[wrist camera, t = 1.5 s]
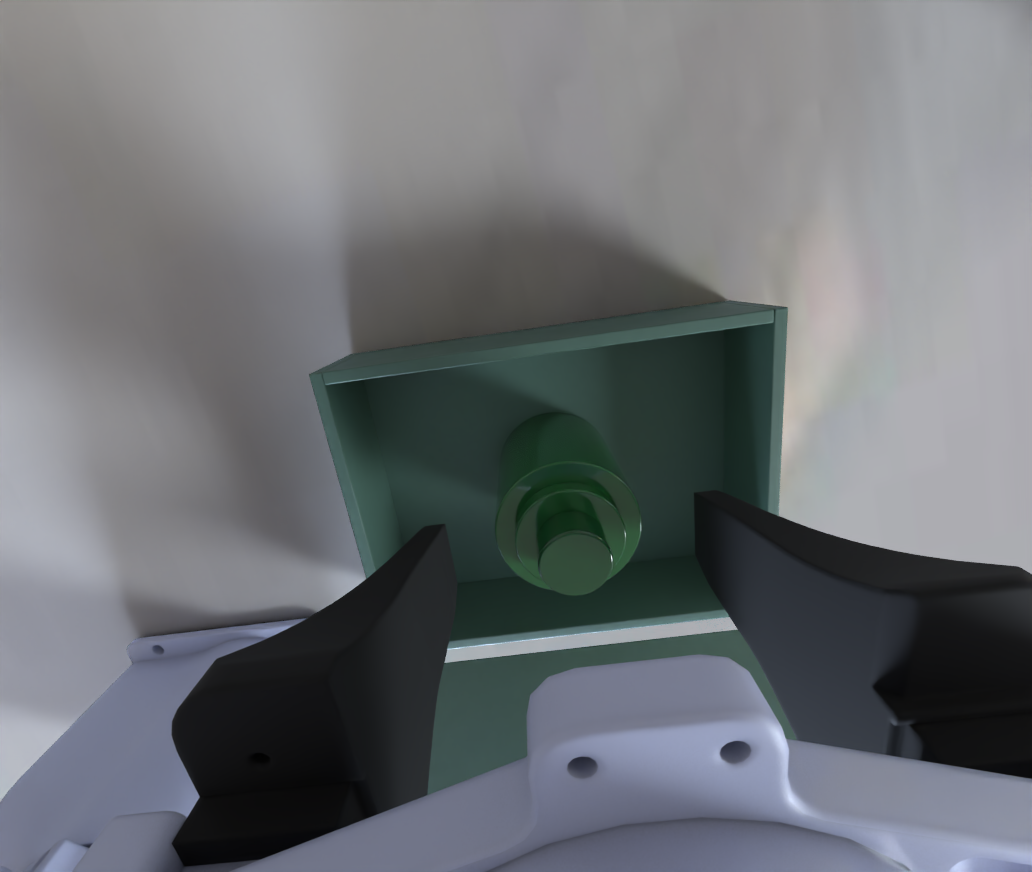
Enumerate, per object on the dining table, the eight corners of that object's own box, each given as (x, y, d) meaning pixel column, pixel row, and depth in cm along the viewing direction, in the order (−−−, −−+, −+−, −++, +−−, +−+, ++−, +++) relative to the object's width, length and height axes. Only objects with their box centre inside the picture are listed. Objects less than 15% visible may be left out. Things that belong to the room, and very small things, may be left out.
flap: (783, 624, 16) (780, 626, 17) (384, 669, 17) (386, 671, 17) (861, 817, 13) (856, 816, 14) (369, 864, 14) (372, 863, 14)
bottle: (507, 519, 20) (504, 641, 13) (491, 419, 18) (479, 500, 12) (613, 506, 20) (663, 624, 13) (604, 404, 18) (656, 478, 12)
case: (728, 552, 21) (774, 612, 17) (409, 590, 21) (388, 656, 18) (730, 300, 17) (788, 306, 14) (350, 354, 18) (308, 374, 14)
